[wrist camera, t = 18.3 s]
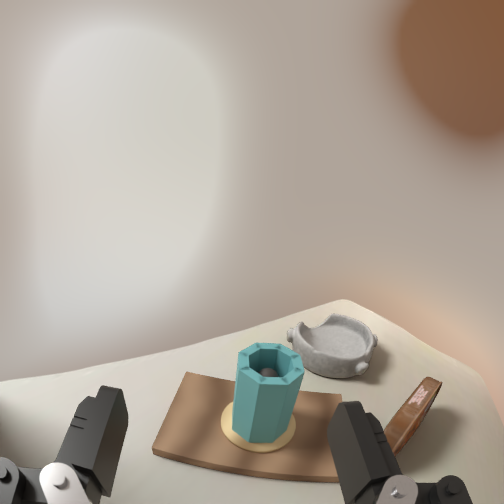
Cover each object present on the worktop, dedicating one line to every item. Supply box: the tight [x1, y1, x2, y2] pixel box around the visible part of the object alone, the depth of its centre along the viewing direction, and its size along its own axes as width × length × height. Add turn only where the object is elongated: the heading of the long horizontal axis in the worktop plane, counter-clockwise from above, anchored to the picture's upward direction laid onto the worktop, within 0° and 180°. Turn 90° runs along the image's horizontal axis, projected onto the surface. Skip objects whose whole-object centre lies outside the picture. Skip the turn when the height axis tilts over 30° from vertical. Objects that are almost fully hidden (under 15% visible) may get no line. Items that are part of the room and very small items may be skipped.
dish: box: [287, 314, 378, 378], centre depth 49 cm, size 14×14×5 cm
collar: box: [232, 343, 305, 443], centre depth 31 cm, size 6×6×10 cm
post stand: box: [152, 368, 342, 482], centre depth 32 cm, size 22×14×11 cm, turn 83°
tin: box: [384, 377, 442, 456], centre depth 30 cm, size 15×3×8 cm, turn 129°
